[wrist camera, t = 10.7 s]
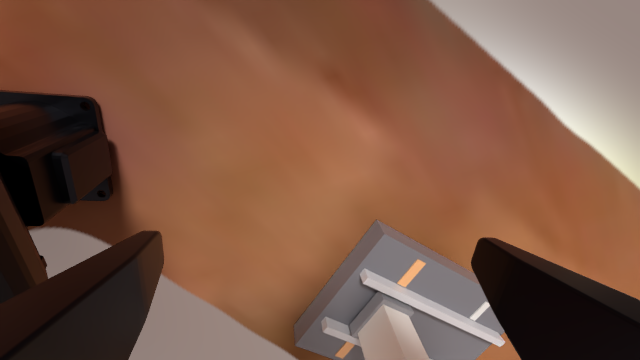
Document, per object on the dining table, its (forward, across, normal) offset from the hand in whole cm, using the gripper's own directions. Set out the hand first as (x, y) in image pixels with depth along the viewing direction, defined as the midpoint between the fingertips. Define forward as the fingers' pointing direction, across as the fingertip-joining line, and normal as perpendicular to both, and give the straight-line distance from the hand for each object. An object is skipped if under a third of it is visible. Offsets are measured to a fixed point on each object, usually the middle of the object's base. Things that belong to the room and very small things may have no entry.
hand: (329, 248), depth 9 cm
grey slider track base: (+13, -11, +16) cm, 23 cm away
